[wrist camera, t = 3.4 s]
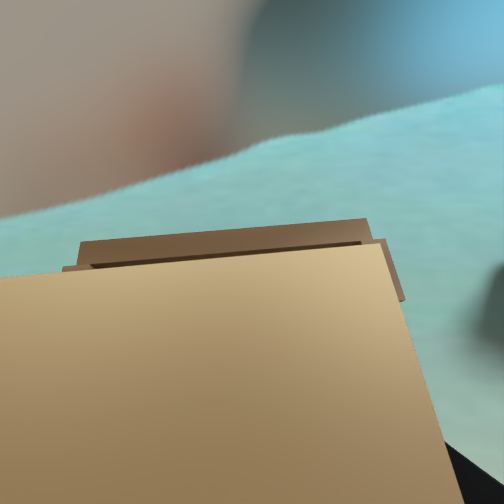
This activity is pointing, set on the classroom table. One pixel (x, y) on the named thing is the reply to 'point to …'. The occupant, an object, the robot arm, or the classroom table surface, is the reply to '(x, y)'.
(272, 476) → the oak block
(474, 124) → the classroom table surface
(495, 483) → the robot arm
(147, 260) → the brown toy sofa
